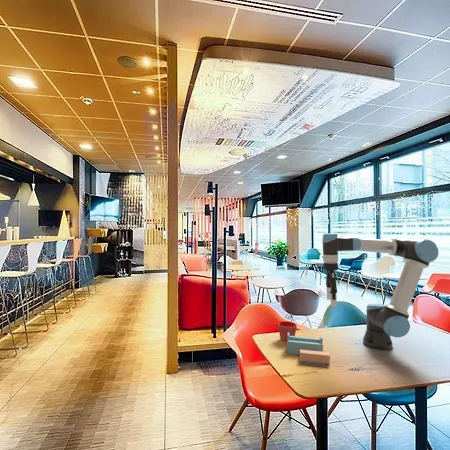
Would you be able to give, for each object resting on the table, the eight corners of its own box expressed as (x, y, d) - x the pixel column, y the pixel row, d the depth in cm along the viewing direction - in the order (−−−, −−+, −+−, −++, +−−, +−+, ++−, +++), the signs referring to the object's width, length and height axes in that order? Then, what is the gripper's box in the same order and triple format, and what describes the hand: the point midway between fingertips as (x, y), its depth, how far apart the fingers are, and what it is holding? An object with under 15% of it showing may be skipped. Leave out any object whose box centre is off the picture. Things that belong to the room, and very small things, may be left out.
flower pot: (291, 345, 168) (292, 328, 168) (274, 340, 175) (274, 324, 175) (299, 339, 176) (299, 323, 177) (282, 335, 183) (282, 319, 183)
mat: (324, 358, 151) (324, 357, 151) (326, 367, 141) (326, 366, 141) (299, 356, 153) (300, 354, 153) (300, 364, 144) (300, 363, 144)
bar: (328, 360, 147) (328, 352, 148) (329, 363, 144) (329, 355, 144) (299, 357, 150) (299, 349, 150) (300, 360, 146) (300, 352, 147)
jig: (321, 350, 162) (321, 334, 162) (322, 356, 153) (322, 340, 153) (287, 346, 166) (287, 331, 166) (287, 353, 157) (287, 336, 157)
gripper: (320, 260, 170) (321, 296, 170) (326, 265, 145) (327, 308, 145) (333, 260, 169) (334, 297, 168) (342, 265, 144) (343, 309, 144)
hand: (331, 302), depth 157 cm, fingers open, 13 cm apart
